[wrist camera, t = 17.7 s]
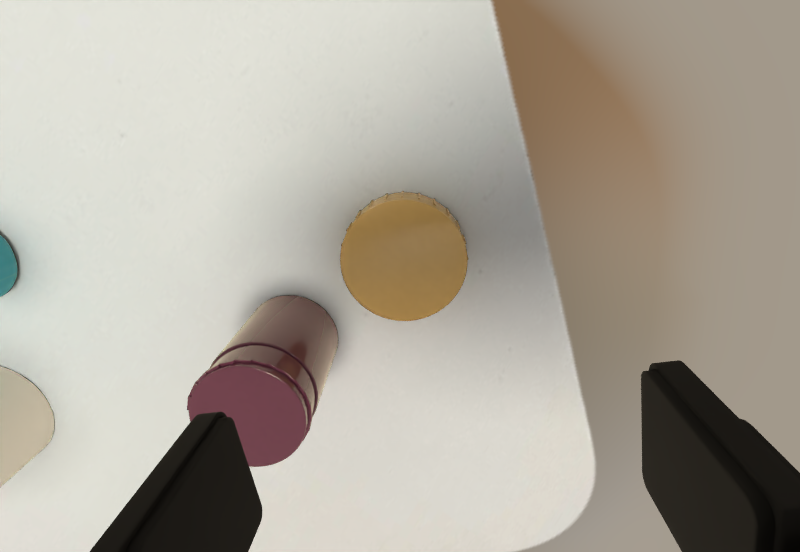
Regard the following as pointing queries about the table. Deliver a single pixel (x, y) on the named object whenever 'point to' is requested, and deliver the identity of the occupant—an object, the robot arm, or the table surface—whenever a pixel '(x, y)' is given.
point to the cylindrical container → (21, 423)
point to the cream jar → (271, 377)
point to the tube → (7, 267)
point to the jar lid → (404, 257)
